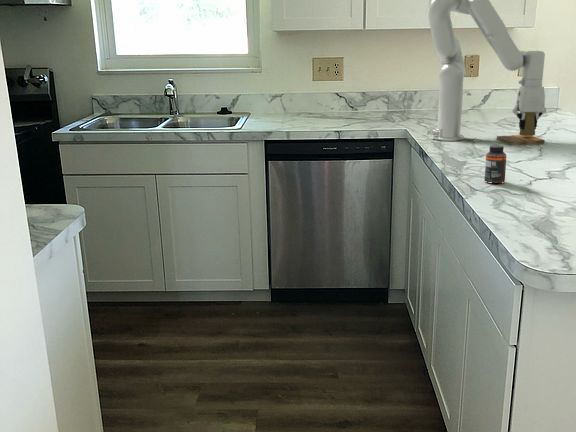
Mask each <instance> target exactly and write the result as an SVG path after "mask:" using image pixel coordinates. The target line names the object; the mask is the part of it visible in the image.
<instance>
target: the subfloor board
mask: <svg viewBox="0 0 576 432" xmlns="http://www.w3.org/2000/svg"><path fill="white" fill-rule="evenodd" d="M496 141H498V142H501V143H504V144H506V145H509V146H525V145H527V146H530V145H545V143H546V142H545V141H546V140H544V139H543V138H539V137H538V136H537V137H536V136H535V135H534V136H524V135H520V134H511V135H497V136H496Z"/></svg>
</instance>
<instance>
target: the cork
mask: <svg viewBox="0 0 576 432" xmlns="http://www.w3.org/2000/svg"><path fill="white" fill-rule="evenodd" d="M535 114H536V112H530V113H526V115H525V118H524V120H525V128H524V130H522V129H520V128H519V134H518V135H524V136H534V137H535V136H536V130H535V118H534V115H535Z"/></svg>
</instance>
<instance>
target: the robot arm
mask: <svg viewBox="0 0 576 432" xmlns="http://www.w3.org/2000/svg"><path fill="white" fill-rule="evenodd" d="M452 12H455V13H459V14H464V15H470V16H471V18H472V19H473V21H474V22H475V24H476V25H477V27H478V29H479V30H480V32H481V33H482V35H483V37H484V38H485V39H486V41H487V42H488V44H489V45H490V46H491V48H492V50H493V51H494V53H495V55H496V56H497V58H498V59H499V61H500V62H501V64H502V66H503V67H504V68H505V69H506V70H508V71H510V72H515V71H518V70H522V75H521V77H522V78H521V79H520V80H518V84H519V85H521V86H519V88H518V89H519V90H518V92H517V97H516V104H515V106H514V108H513V109H512V112H511V113H512V114H513V115H515V116H516V117H517V118H518V121H519V122H518V123H519V124H518V128H519V130H520V129H522V130H524V128H525V120H524V118H525V115H526V113H530V112H536V114H535V115H534V118H535V131H536V129H537V128H538V120H539V119H540V118H541V116H542V115H543V114H545V113H546V112H547V108H546V107H545V104H546V103H545V102H546V96H545V95H546V91H545V87H544V86H543V79H544V78H543V76H544V67H545V55H546V54H545V52H544V51H542V50H528V51H525V50H519V49H518V47H517V45H516V44H515V42H514V40H513V39H512V37H511V36H510V33H509V32H508V30H507V26H506V25H505V23H504V21H503V20H502V19H501V17H500V15H499V13H498V12H497V11H496V8H494V5H493V4H492V3H491V1H490V0H431V2H430V4H429V7H428V22H429V27H430V33H431V37H432V41H433V49H434V52H435V54H436V56H437V57H438V60H439V65H440V71H439V74H438V109H437V126H435V128H433V129H426V130H425V135H430V136H433V139H434V140H437V141H443V142H455V141H462V140H464V139H465V136H464V135H463V134H461V128H462V115H463V114H462V111H463V110H462V109H463V94H464V93H463V92H464V78H465V76H466V67H465V66H466V65H465V61H464V57H463V53H462V48H461V45H460V44H461V43H460V42H459V40H458V38H457V37H456V35H455V32H454V28H453V24H452V23H453V22H452V18H451V13H452Z"/></svg>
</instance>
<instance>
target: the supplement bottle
mask: <svg viewBox="0 0 576 432" xmlns="http://www.w3.org/2000/svg"><path fill="white" fill-rule="evenodd" d="M504 148H505V147H504V145H501V144H492V145H489V152H487V153H486V154H485V162H484V163H485V166H484V167H485V168H484V182H485V181H487V182H492V183H502V182H504V183H505V181H506V167H507V154H506V153H505V152H504ZM502 184H503V183H502Z"/></svg>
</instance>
